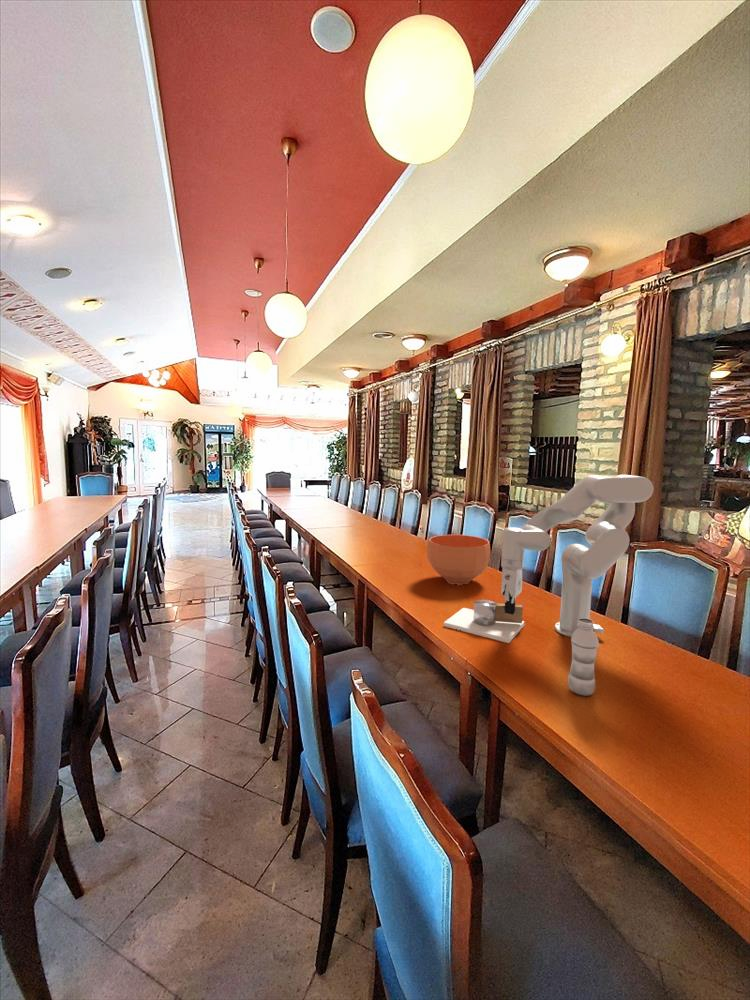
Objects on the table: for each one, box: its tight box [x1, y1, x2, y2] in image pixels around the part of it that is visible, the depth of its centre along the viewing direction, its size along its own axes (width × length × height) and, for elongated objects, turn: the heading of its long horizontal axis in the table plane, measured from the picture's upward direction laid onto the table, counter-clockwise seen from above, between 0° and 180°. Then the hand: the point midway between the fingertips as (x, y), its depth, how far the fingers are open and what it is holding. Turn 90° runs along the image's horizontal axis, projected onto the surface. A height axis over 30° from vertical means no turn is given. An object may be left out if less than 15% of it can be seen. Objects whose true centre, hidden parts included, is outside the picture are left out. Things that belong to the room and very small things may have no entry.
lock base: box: [443, 607, 525, 644], centre depth 158 cm, size 24×18×2 cm
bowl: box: [426, 534, 492, 586], centre depth 210 cm, size 30×30×20 cm
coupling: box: [473, 599, 524, 626], centre depth 157 cm, size 17×10×7 cm, turn 80°
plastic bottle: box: [567, 618, 599, 696], centre depth 114 cm, size 6×7×20 cm
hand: (509, 612), depth 153 cm, fingers closed
